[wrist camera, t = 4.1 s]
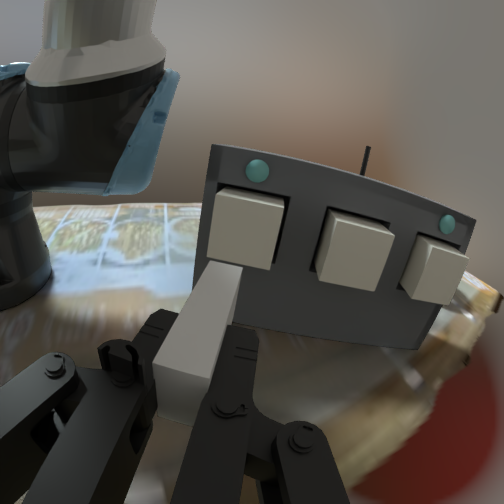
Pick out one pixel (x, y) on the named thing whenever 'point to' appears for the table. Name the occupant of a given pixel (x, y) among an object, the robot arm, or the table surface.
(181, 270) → the table surface
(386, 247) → the key middle
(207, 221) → the keypad
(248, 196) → the key left
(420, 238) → the key right
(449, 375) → the table surface
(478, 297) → the table surface
